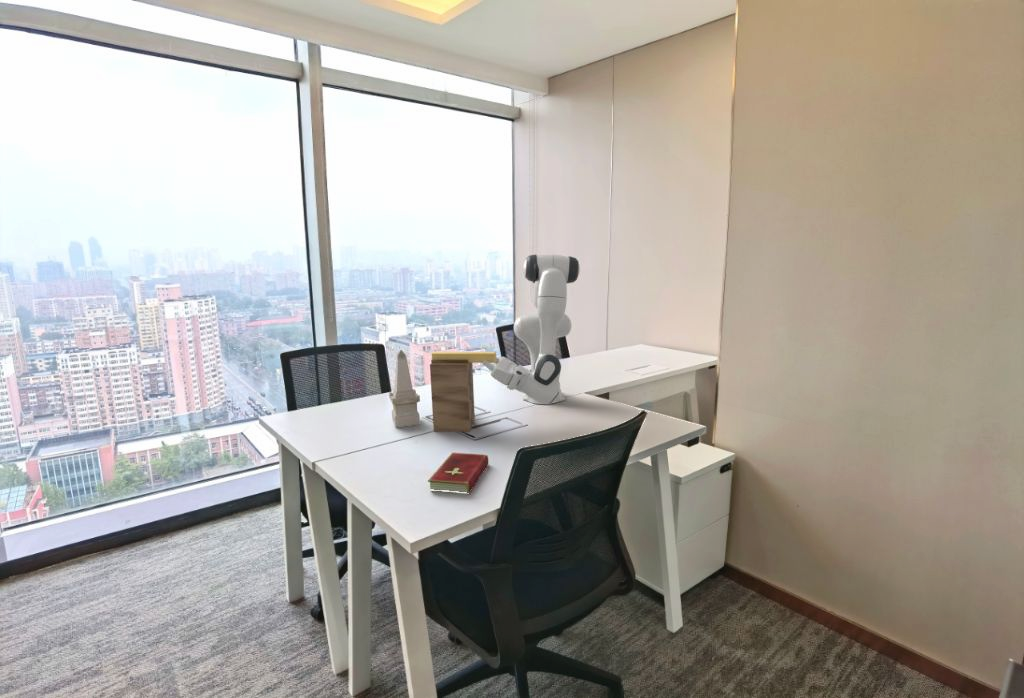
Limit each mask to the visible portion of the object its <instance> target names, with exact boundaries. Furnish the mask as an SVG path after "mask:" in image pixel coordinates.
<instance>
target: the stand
mask: <svg viewBox="0 0 1024 698" xmlns="http://www.w3.org/2000/svg"><path fill="white" fill-rule="evenodd" d="M473 367H474V366H473V363H468V360H432V359H431V360H430V364H429V371H430V372H429V373H430V389H431V391H430V392H431V406H432V407H431V410H432V425H433V427H432V428H433V432H462V433H463V432H464V433H465V432H467V433H470V432H471V430H472V428H473V427H474V425H475V424H476V420H475V419H476V415H475V414H476V413H475V396H474V395H475V394H474V370H473Z"/></svg>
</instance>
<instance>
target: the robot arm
mask: <svg viewBox="0 0 1024 698" xmlns="http://www.w3.org/2000/svg"><path fill="white" fill-rule="evenodd" d="M522 268H523V269H522V270H523V275H524V277H525V279H526V280H527V281H529V282H532V283H533V284H534V285H533V294H532V303H533V305H534V307H535V308H536V309H537V314H526V315H521V316H519V317H517V318H516V319H515V321H514V324H513V332H514V335H515V336H516V337H517V338H518V339H519V340H520V341H521V342H523V343H524V344H525V345H526V347H527V349H528V352H529V357H530V369H528V368H526V367H524V366H522V365H521V364H519V365H518V364H516V363H515V362H514V361H512V360H510V359H509V358H508V357H505V356H502V357H500V358H499V357H497V356H496V362H495V363H494V364H493V363H489V361H487V360H484V361H483V363H482V365H483V366H484V367H486V368H487V370H489V371H490V372H491V373H490V376H491V377H492V378H493V379H494V380H496V381H497V382H499V383H501V384H502V385H504V386H506V388H507V389H508V390H510V391H514V390H516V391H517V392H519V393H523V394H525V395H524V396H523V398H522V400H523V401H526V402H529V403H532V404H536V405H550V404H557V403H558V402H563V401H565V400H566V398H565V396H564V395H563V392H562V389H561V382H560V376H561V371H562V363H561V361H560V359H559V358H558V357H557V355H556V348H557V339H559V338H563V337H566V336H568V335H569V334H570V332H571V330H572V321H571V318H570V317H569V316H568V315H567V314H565V312H566V308H567V300H568V299H567V298H568V297H567V296H568V293H567V291H568V290H567V284H572V283H573V284H574V283H575V282H576V281H577V280H578V278H579V275H580V272H581V271H580V270H581V268H580V264H579V260H578V259H577V258H576V257H573V256H565V255H559V254H538V255H537V254H529V255H528V256H527V257H526V258H525V261H524V262H523V267H522Z"/></svg>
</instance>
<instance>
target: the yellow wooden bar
mask: <svg viewBox="0 0 1024 698" xmlns="http://www.w3.org/2000/svg"><path fill="white" fill-rule="evenodd" d="M496 357H497V352H496V351H433V352H431V360H468V363H472V364H473V363H475V364H478V363H480V364H481V363H483V361H484V360H487V361H489V363H491V364H496V363H495V362H496Z"/></svg>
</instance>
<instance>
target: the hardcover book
mask: <svg viewBox="0 0 1024 698" xmlns="http://www.w3.org/2000/svg"><path fill="white" fill-rule="evenodd" d="M487 465H488V466H489V456H488V454H485V453H484V454H480V453H465V452H452V453H451V454H450V455H449V456H448V457H447V458H446V459H445V460H444V462H443V463H442V464H441V465H440V466H439V467H438V468H437V470H436V471H435V472H434V473H433V474H432V476H430V478H428V480H427V482H428V483H429V487H430V488H429V489H434V490H449V491H459V492H467V493H469V492H470V490H471V489H472V487H473V486H474V485H476V484H477V483H478V481H479V480H480V478H481V477H482V475H483V474H484V472H485V471H486V469H487V468H488V466H487ZM485 468H486V469H485ZM484 470H485V471H484ZM483 471H484V472H483ZM482 473H483V474H482ZM481 474H482V475H481ZM480 476H481V477H480ZM479 477H480V478H479ZM478 479H479V480H478ZM477 480H478V481H477ZM476 482H477V483H476ZM475 483H476V484H475ZM474 487H475V486H474ZM474 487H473V488H474ZM472 490H473V489H472ZM472 490H471V491H472ZM470 493H471V492H470ZM470 493H469V494H470Z"/></svg>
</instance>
